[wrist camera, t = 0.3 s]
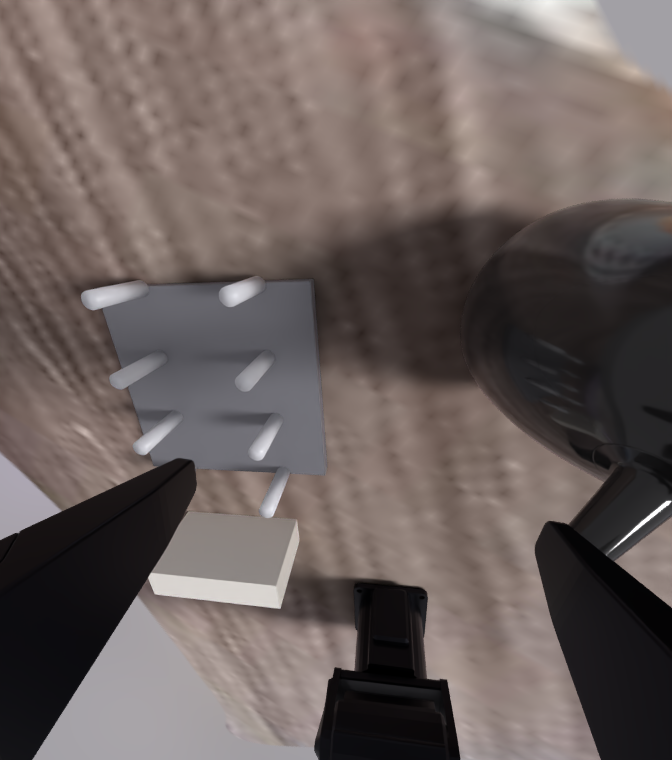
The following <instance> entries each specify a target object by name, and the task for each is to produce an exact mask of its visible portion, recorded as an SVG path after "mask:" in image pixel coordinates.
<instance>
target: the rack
mask: <svg viewBox="0 0 672 760" xmlns="http://www.w3.org/2000/svg"><path fill="white" fill-rule="evenodd" d="M81 300H82V303H83V304H84V305H85V307H87V308H88V309H90V310H96V309H100V308H102V309H103V313H104V316H105V319H106V322H107V325H108V328H109V331H110V334H111V337H112V340H113V343H114V346H115V349H116V352H117V355H118V358H119V361H120V364H121V367H122V369H121V370H119V371H117V372H115V373H113V374H112V375H110V378H109V380H110V383H111V384H112V386H113V387H115V388H116V389H124V388H126V387H127V386H128V389H129V392H130V395H131V398H132V401H133V404H134V407H135V410H136V413H137V416H138V419H139V422H140V425H141V428H142V431H143V434H144V435H143V436H142V437H141V438H140V439H138V440H137V441H136V442H135V443H134V444H133V449H134V451H135V452H136V453H138V454H140V455H146V454H147V453H148V452H149V453H150V456H151V459H152V462H153V465H154V466H161V465H163V464H165V463H167V462H169V461H172V460H174V459H176V458H184V459H190V460H192V461H194V463H195V471H196V469H215V470H234V471H252V472H271V473H276V474H275V476H274V478H273V480H272V482H271V485H270V487H269V489H268V491H267V493H266V496H265V498H264V500H263V502H262V504H261V506H260V509H259V513H260V515H261V516H263V517H265V518H271V517H272V516H273V515H274V513H275V510H276V507H277V505H278V502H279V500H280V497H281V495H282V492H283V490H284V487H285V485H286V482H287V480H288V477H289V475H290V474H308V475H325V474H326V470H327V455H326V442H325V428H324V414H323V400H322V386H321V373H320V359H319V345H318V331H317V318H316V304H315V290H314V279H295V280H265V281H264V279H263V278H262V277H260V276H253V277H251V278H248V279H245V280H242V281H234V282H204V283H174V284H146V283H145V282H144V281H142V280H136V281H131V282H126V283H121V284H116V285H111V286H103V287H98V288H96V289H92V290H87V291H84V292H83V293H82V294H81Z"/></svg>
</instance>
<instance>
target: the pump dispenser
mask: <svg viewBox="0 0 672 760" xmlns="http://www.w3.org/2000/svg"><path fill="white" fill-rule="evenodd" d="M460 337H461V347H462V352H463V356H464V359H465V362H466V365H467V367H468V369H469V371H470V373H471V375H472V377H473V379H474V380H475V382H476V384H477V385H478V386H479V388H480V389H481V391H482V392H483V393H484V394H485V396H486V397H487V398H488V399H489V400H490V401H491V402H492V403H493V404H494V405H495V406H496V407H497V408H498V409H499V410H500V411H501V412H502V413H503V414H504V415H505V416H506V417H507V418H508V419H509V420H510V421H511V422H512V423H513V424H514V425H516V426H517V427H518V428H519V429H520V430H522V431H523V432H524V433H525V434H527V435H528V436H529V437H530V438H532V439H533V440H534V441H536V442H537V443H539V444H540V445H541V446H543V447H544V448H546V449H547V450H549V451H550V452H552V453H553V454H555V455H557V456H558V457H560V458H561V459H563V460H565V461H566V462H568V463H570V464H571V465H573V466H575V467H577V468H578V469H580V470H582V471H584V472H586V473H587V474H589V475H591V476H593V477H595V478H597V479H599V480H601V481H603V482H604V483H603V484H602V486H601V487H600V488H599V489H598V490H597V492H596V493H595V494H594V495H593V496H592V497H591V499H590V500H589V501H588V502H587V503H586V504H585V506H584V507H583V508H582V509H581V510H580V511H579V513H578V514H577V515H576V516H575V517H574V518H573V520H572V521H571V522H570V523H569V524H568V525H569V526H570V527H572V528H573V529H574V530H575V531H577V532H578V533H579V534H580V535H582V536H583V537H584V538H585V539H587V540H588V541H589V542H590V543H592V544H593V545H594V546H595V547H597V548H598V549H599V550H600V551H602V552H603V553H604V554H605V555H607V556H608V557H609V558H610V559H611V560H613V561H616V560H617V559H618V558H619V557H621V556H622V555H623V554H625V553H626V552H627V551H628V550H630V549H631V548H632V547H634V546H635V545H636V544H637V543H639V542H640V541H641V540H643V539H644V538H645V537H646V536H648V535H649V534H650V533H652V532H653V531H654V530H655V529H657V528H658V527H659V526H661V525H662V524H663V523H665V522H666V521H667V520H668V519H670V518H671V517H672V202H668V201H659V200H648V199H609V200H599V201H592V202H586V203H581V204H577V205H573V206H570V207H567V208H563V209H561V210H558V211H555V212H553V213H550V214H548V215H546V216H544V217H542V218H540V219H538V220H536V221H534V222H533V223H531V224H529V225H528V226H526V227H525V228H523V229H522V230H520V231H519V232H518V233H516V234H515V235H514V236H512V237H511V238H510V239H509V240H508V241H506V242H505V243H504V244H503V245H502V246H501V247H500V248H499V249H498V250H497V251H496V252H495V253H494V254H493V255H492V257H491V258H490V259H489V260H488V261H487V263H486V264H485V265H484V267H483V268H482V270H481V271H480V273H479V274H478V276H477V277H476V279H475V281H474V283H473V285H472V287H471V289H470V291H469V294H468V296H467V299H466V302H465V305H464V309H463V313H462V319H461V329H460Z"/></svg>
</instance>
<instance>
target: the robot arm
mask: <svg viewBox="0 0 672 760" xmlns="http://www.w3.org/2000/svg"><path fill="white" fill-rule="evenodd" d="M196 486H197V482H196V471H195V463H194V461H192V460H190V459H184V458H176V459H174V460H172V461H169V462H167V463H165V464H163V465H161V466H159V467H157V468H154V469H152V470H150V471H148V472H146V473H144V474H142V475H139V476H137V477H135V478H133V479H131V480H129V481H126V482H124V483H122V484H120V485H118V486H116V487H114V488H111V489H109V490H107V491H105V492H103V493H101V494H99V495H96V496H94V497H92V498H90V499H88V500H86V501H84V502H81V503H79V504H77V505H75V506H73V507H71V508H68V509H66V510H64V511H62V512H60V513H58V514H56V515H53V516H51V517H49V518H47V519H45V520H43V521H40V522H38V523H36V524H34V525H32V526H30V527H28V528H25V529H23V530H21V531H20V533H19V534H18V533H15V534H13V535H10V536H8V537H6V538H4V539H2V540H0V760H32V759H33V758H34V756H35V755H36V753H37V751H38V750H39V748H40V746H41V745H42V744H43V742H44V740H45V739H46V737H47V736H48V734H49V733H50V731H51V729H52V728H53V726H54V725H55V723H56V721H57V720H58V718H59V717H60V715H61V714H62V712H63V711H64V709H65V707H66V706H67V704H68V703H69V701H70V700H71V698H72V696H73V694H74V693H75V692H76V690H77V688H78V687H79V685H80V684H81V682H82V681H83V679H84V677H85V676H86V674H87V673H88V671H89V670H90V668H91V666H92V665H93V663H94V662H95V660H96V659H97V657H98V656H99V654H100V652H101V651H102V649H103V648H104V646H105V645H106V643H107V641H108V640H109V638H110V636H111V635H112V633H113V632H114V630H115V629H116V627H117V626H118V624H119V622H120V621H121V619H122V618H123V616H124V615H125V613H126V611H127V610H128V608H129V607H130V605H131V604H132V602H133V600H134V599H135V597H136V596H137V594H138V593H139V591H140V589H141V588H142V586H143V585H144V583H145V582H146V580H147V578H148V577H149V575H150V574H151V572H152V571H153V569H154V567H155V566H156V564H157V563H158V561H159V560H160V558H161V556H162V555H163V553H164V552H165V550H166V548H167V547H168V545H169V543H170V541H171V539H172V537H173V535H174V533H175V531H176V529H177V527H178V525H179V523H180V521H181V519H182V517H183V515H184V513H185V511H186V509H187V507H188V505H189V504H190V502H191V500H192V498H193V496H194V493H195V491H196ZM535 556H536V560H537V564H538V568H539V572H540V576H541V580H542V584H543V588H544V592H545V596H546V600H547V604H548V608H549V612H550V615H551V619H552V622H553V625H554V628H555V631H556V634H557V637H558V640H559V643H560V646H561V649H562V651H563V654H564V657H565V660H566V663H567V665H568V668H569V671H570V674H571V677H572V680H573V682H574V685H575V688H576V691H577V694H578V696H579V699H580V702H581V705H582V708H583V711H584V713H585V716H586V719H587V722H588V725H589V727H590V730H591V733H592V736H593V739H594V741H595V744H596V747H597V750H598V753H599V756H600V758H601V760H672V608H671V607H670V606H669V605H667V604H666V603H665V602H664V601H662V600H661V599H660V598H659V597H657V596H656V595H655V594H654V593H653V592H651V591H650V590H649V589H648V588H646V587H645V586H644V585H643V584H641V583H640V582H639V581H638V580H636V579H635V578H634V577H633V576H631V575H630V574H629V573H628V572H626V571H625V570H624V569H623V568H621V567H620V566H619V565H618V564H616V563H615V562H614V561H613V560H611V559H610V558H609V557H608V556H607V555H605V554H604V553H603V552H602V551H600V550H599V549H598V548H597V547H595V546H594V545H593V544H592V543H590V542H589V541H588V540H587V539H585V538H584V537H583V536H582V535H580V534H579V533H578V532H577V531H575V530H574V529H573V528H572V527H570V526H569V525H568V524H565V523H560V522H555V521H548V522H546V523H545V525H544V527H543V529H542V531H541V533H540V535H539V538H538V540H537V542H536V544H535ZM427 601H428V596H427V592H426V591H425V590H422V589H413V588H403V587H393V586H383V585H373V584H363V583H357V584H355V586H354V605H355V628H356V630H357V644H356V657H355V671H350V670H342V669H341V668H336V667H335V668H334V673H333V678H331V679H329V680H328V687H327V695H326V702H325V707H324V711H323V715H322V718H321V722H320V725H319V729H318V732H317V736H316V739H315V746H314V751H315V753H316V755H317V757H318V759H319V760H460V753H459V746H458V740H457V734H456V728H455V723H454V717H453V711H452V705H451V700H450V694H449V688H448V682H447V680H445V679H440V680H432V679H427V674H426V662H425V651H424V640H423V638H424V633H425V622H426V611H427Z"/></svg>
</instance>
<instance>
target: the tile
mask: <svg viewBox="0 0 672 760" xmlns="http://www.w3.org/2000/svg"><path fill="white" fill-rule="evenodd" d="M298 544H299V533H298V525H297V519H286V518H273V517H271V518H265V517H259V516H245V515H232V514H218V513H205V512H191V511H188V513H187V514H186V516H185V517H184V518H183V520H182V521H181V523H180V524H179V526H178V527H177V529H176V531H175V533H174V535H173V537H172V539H171V541H170V543H169V545H168V547H167V548H166V550H165V552H164V553H163V555H162V556H161V558H160V560H159V561H158V563H157V564H156V566H155V567H154V569H153V571H152V572H151V574H150V575H149V577H148V579H149V581H150V584H151V586H152V588H153V591H154V593H155V594H157V595H165V596H174V597H183V598H191V599H200V600H209V601H217V602H226V603H235V604H243V605H252V606H261V607H269V608H278V609H280V608H281V605H282V601H283V597H284V594H285V590H286V587H287V583H288V580H289V576H290V572H291V569H292V565H293V562H294V558H295V555H296V551H297V548H298Z"/></svg>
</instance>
